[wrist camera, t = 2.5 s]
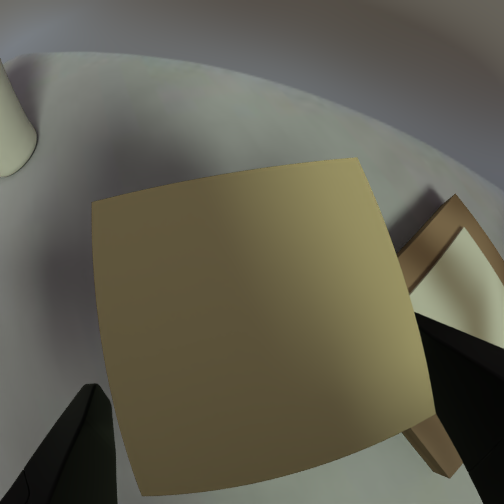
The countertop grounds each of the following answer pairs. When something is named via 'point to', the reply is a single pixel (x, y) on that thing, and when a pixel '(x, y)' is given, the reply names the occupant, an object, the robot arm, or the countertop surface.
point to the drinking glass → (13, 130)
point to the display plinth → (452, 301)
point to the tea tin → (254, 325)
